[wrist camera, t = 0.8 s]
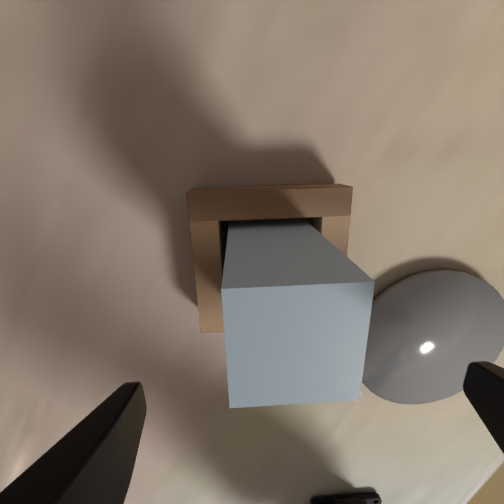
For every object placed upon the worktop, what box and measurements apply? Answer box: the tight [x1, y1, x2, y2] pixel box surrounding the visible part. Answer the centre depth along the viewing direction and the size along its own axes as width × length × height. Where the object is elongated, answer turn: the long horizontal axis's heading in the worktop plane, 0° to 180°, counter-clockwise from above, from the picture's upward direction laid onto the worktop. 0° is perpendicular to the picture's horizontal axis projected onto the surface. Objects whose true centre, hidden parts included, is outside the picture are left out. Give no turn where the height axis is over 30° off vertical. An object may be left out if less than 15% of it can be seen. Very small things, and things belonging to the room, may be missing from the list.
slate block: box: [221, 219, 375, 408], centre depth 13 cm, size 4×4×9 cm
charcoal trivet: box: [362, 269, 504, 404], centre depth 20 cm, size 11×11×1 cm
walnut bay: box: [186, 184, 353, 333], centre depth 16 cm, size 8×8×2 cm
